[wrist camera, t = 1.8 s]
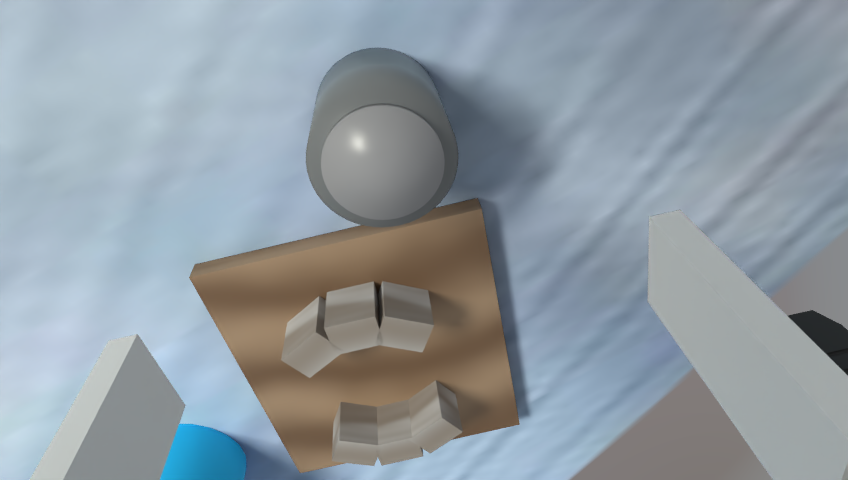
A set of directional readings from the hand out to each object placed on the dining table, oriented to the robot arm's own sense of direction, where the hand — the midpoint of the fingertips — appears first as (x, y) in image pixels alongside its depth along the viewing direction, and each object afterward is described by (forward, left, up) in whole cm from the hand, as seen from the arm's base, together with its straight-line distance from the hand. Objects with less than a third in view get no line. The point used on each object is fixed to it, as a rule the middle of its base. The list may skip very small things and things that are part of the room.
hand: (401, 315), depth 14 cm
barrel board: (+15, -4, -15) cm, 22 cm away
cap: (0, 0, -15) cm, 15 cm away
